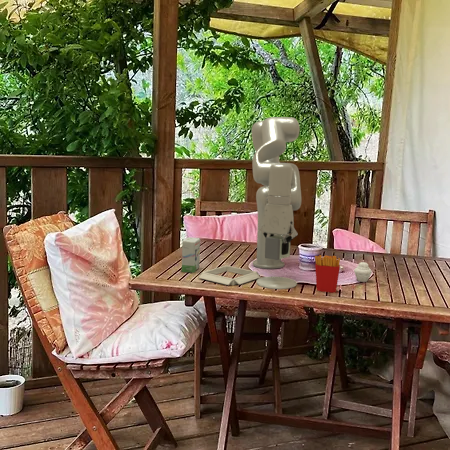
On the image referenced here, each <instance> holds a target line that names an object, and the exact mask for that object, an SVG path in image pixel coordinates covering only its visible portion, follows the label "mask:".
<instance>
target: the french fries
mask: <svg viewBox="0 0 450 450" xmlns="http://www.w3.org/2000/svg"><path fill="white" fill-rule="evenodd" d="M314 260H315V264H314V265H315V282H316V283H315V284H316V285H315V286H316V291H318V292H322V293H337V287H338V282H339V275H340V274H339V273H340V268H341V265H340V263H341V258H340V257H338V258H337V256H336V255H326V254H325V255H324V256H322V255H321V254H319V255H314Z"/></svg>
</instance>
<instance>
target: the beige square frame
mask: <svg viewBox="0 0 450 450" xmlns="http://www.w3.org/2000/svg"><path fill="white" fill-rule="evenodd" d="M225 272H230V273H232V274H238V275H240V276H237V277H234V278H230V277H226V276H223V275H218V274H222V273H225ZM197 278H198V279H201V280H206V281H210V282H214V283H216V284H217V283H218V284H222V285H226V286H235V285H238V286H240V285H242V284H245V283H249V282H252V281H254V280H258V279H259V278H261V276H260V273H258V271H255V270H250V269H245V268H240V267H236V266H231V265H228V264H227V265H226V264H225V265H222V266H220V267H215V268H213V269H209V270H205V271H203V272H202V271H201V273H199V274H198V277H197Z"/></svg>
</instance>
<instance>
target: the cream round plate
mask: <svg viewBox="0 0 450 450" xmlns="http://www.w3.org/2000/svg"><path fill="white" fill-rule="evenodd" d="M256 285H257V286H259V287H261V288H266V289H274V290H287V289H288V290H289V289H292V288H295V287H297V285H298V282H297V281H296V280H295V279H292V278H290V277H284V276H264V277H260V278H258V279H256Z"/></svg>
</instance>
